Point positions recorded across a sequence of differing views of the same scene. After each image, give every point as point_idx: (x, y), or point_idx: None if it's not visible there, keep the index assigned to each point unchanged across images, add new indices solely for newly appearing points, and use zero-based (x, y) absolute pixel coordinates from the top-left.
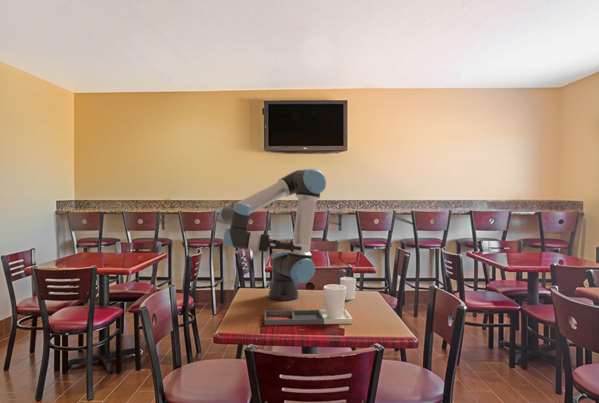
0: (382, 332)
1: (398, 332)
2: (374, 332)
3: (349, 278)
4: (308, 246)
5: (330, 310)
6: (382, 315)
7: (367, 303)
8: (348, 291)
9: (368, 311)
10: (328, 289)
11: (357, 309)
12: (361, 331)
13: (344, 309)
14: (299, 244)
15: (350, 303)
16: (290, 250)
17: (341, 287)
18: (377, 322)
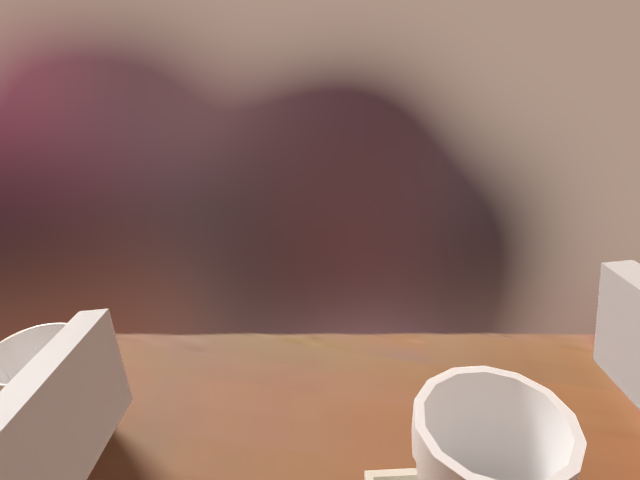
0: (595, 392)
1: (568, 351)
2: (611, 415)
3: (5, 348)
4: (631, 268)
5: None
6: (372, 358)
7: (190, 376)
8: None
9: (317, 391)
10: (580, 468)
11: (282, 426)
12: (626, 458)
13: (367, 477)
14: (31, 402)
15: (169, 440)
16: None
17: (440, 392)
18: None
